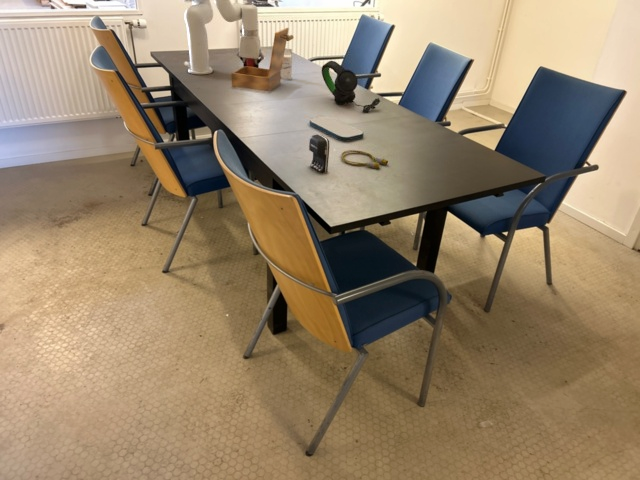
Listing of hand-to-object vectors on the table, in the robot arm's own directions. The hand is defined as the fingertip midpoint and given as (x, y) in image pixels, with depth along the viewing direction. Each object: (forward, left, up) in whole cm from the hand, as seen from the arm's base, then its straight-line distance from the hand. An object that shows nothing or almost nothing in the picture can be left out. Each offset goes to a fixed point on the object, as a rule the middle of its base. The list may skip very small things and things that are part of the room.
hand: (251, 71), depth 249 cm
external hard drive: (+60, -57, -4) cm, 83 cm away
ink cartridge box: (+15, +6, -4) cm, 16 cm away
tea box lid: (+19, -13, +14) cm, 27 cm away
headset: (+56, -22, -4) cm, 60 cm away
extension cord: (+76, -82, -4) cm, 112 cm away
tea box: (+8, -13, -3) cm, 16 cm away
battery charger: (+64, -95, -4) cm, 115 cm away
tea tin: (0, 0, -3) cm, 3 cm away
